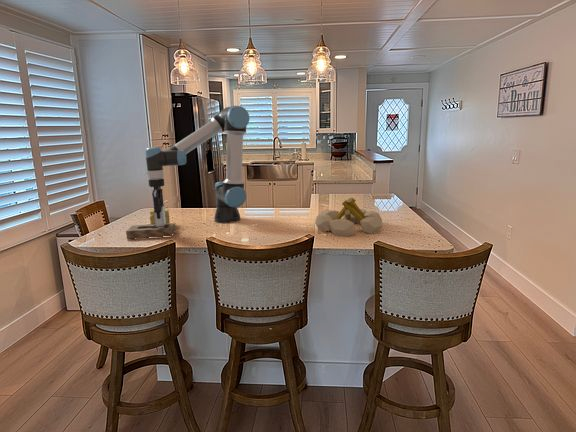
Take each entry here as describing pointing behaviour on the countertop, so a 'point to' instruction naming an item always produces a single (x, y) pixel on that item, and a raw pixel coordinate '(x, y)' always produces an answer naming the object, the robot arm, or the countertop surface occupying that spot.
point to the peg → (162, 218)
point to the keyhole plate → (150, 231)
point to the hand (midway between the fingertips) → (160, 223)
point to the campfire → (348, 220)
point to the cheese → (152, 217)
